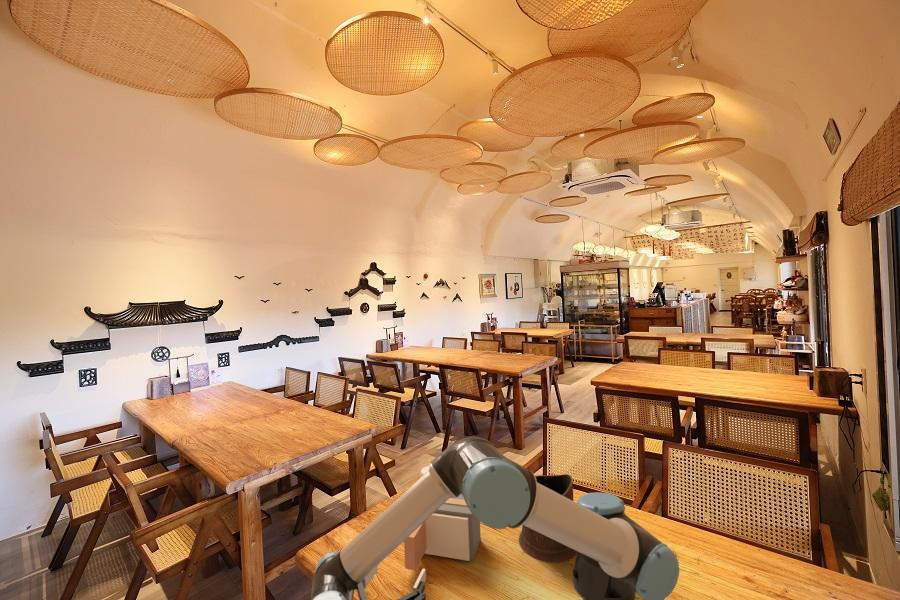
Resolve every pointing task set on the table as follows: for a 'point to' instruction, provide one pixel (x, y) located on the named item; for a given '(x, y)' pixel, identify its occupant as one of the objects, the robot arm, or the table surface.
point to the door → (438, 539)
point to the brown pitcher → (539, 543)
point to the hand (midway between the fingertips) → (399, 569)
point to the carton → (460, 509)
